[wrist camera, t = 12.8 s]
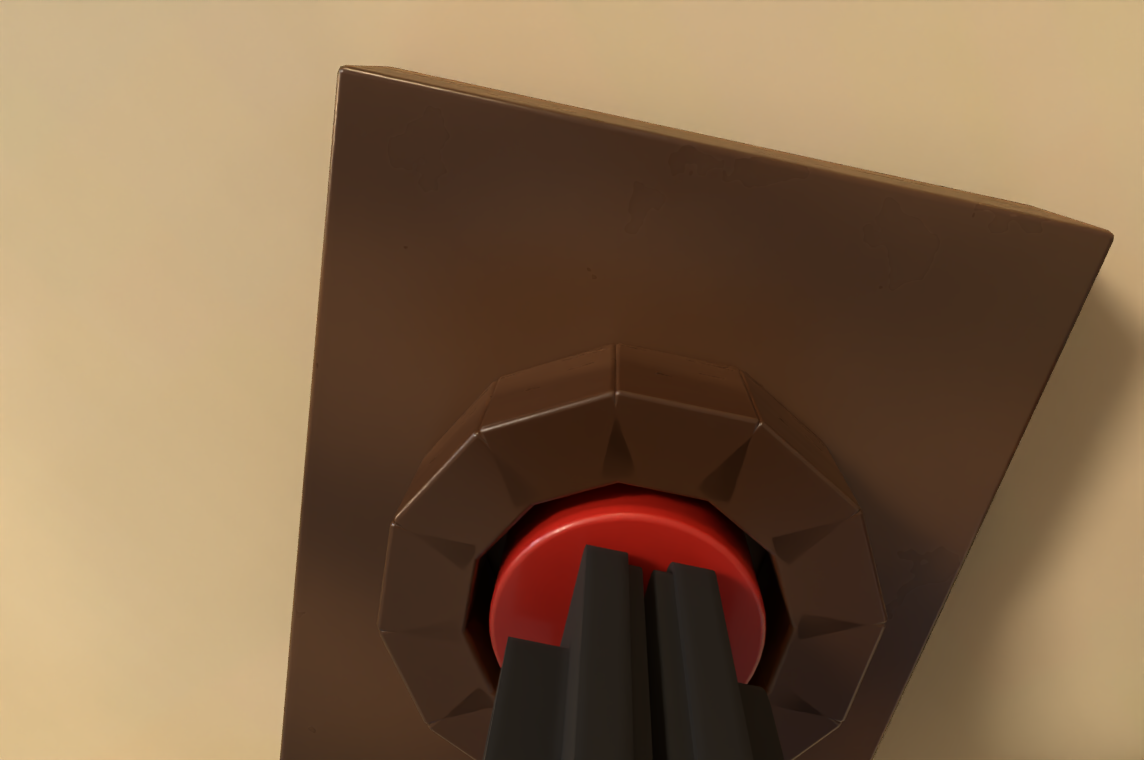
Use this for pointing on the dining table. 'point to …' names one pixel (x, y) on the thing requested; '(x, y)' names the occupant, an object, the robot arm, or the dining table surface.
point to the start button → (652, 540)
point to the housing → (646, 394)
